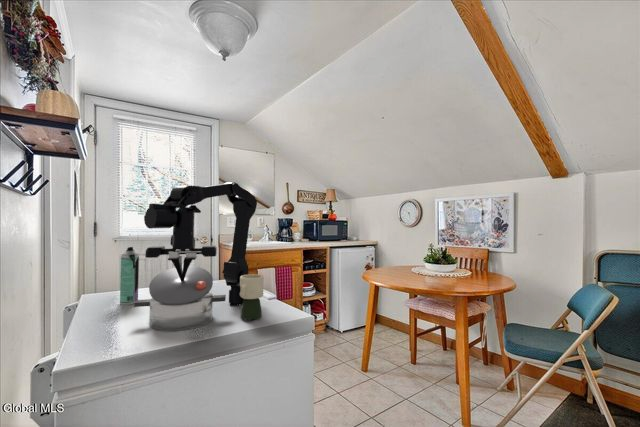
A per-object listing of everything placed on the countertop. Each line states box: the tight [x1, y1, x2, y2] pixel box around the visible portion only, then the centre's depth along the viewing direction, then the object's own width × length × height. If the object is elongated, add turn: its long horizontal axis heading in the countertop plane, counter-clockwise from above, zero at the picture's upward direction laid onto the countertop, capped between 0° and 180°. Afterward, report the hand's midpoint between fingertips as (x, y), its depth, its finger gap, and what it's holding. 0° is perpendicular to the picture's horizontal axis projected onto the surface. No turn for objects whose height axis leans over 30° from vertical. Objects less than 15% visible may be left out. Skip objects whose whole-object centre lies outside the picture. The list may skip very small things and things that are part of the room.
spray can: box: [119, 246, 140, 306], centre depth 108 cm, size 6×6×20 cm
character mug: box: [240, 273, 265, 321], centre depth 93 cm, size 11×7×13 cm, turn 163°
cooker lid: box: [148, 262, 214, 305], centre depth 89 cm, size 17×19×3 cm
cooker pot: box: [133, 291, 227, 332], centre depth 90 cm, size 25×17×7 cm
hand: (182, 280), depth 89 cm, fingers closed, pressing on cooker lid
